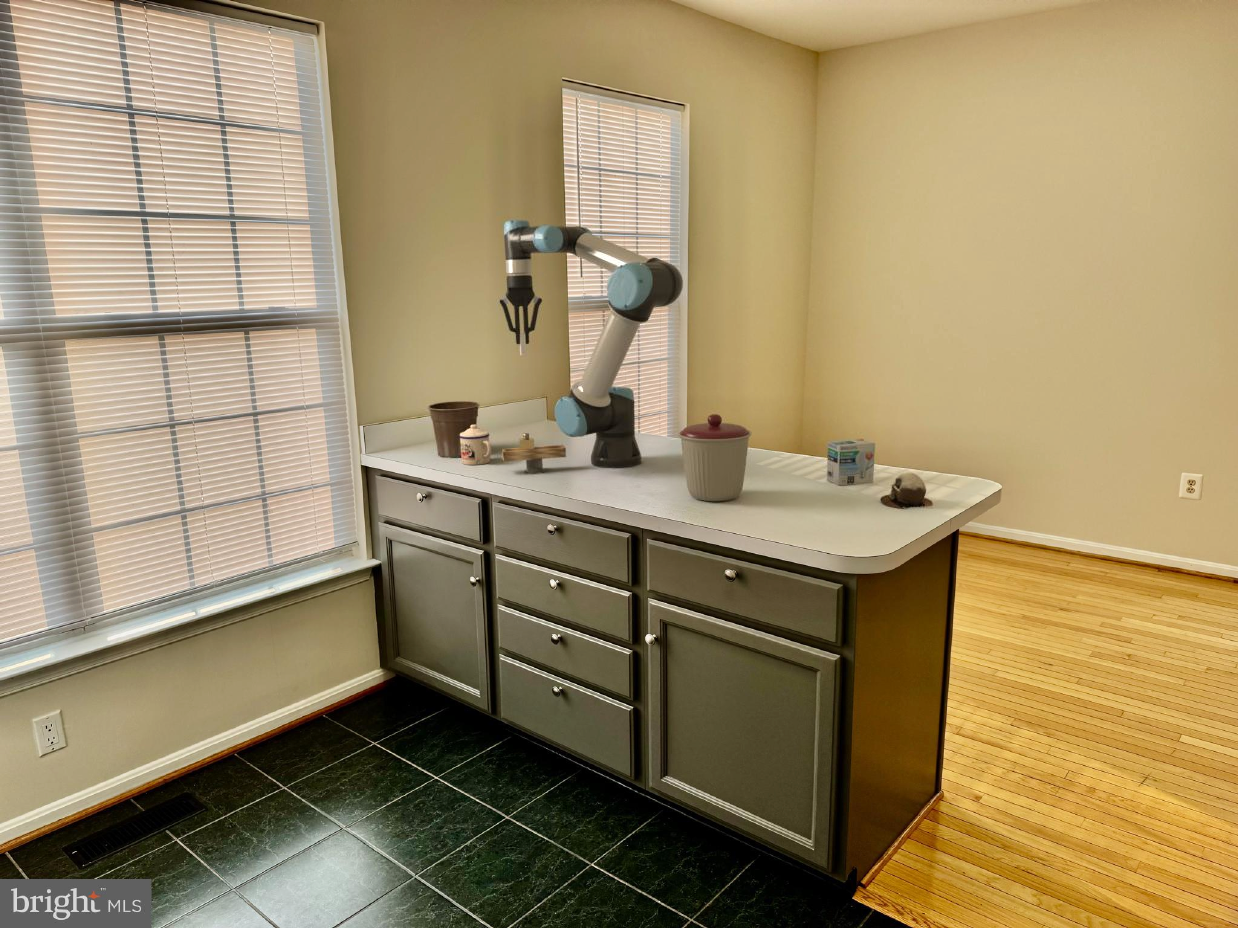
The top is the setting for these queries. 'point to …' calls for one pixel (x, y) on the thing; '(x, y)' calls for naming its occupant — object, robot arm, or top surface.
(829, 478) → the light bulb box
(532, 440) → the rider
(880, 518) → the top surface
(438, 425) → the plant pot
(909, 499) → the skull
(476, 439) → the teacup with lid
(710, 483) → the canister
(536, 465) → the beam
